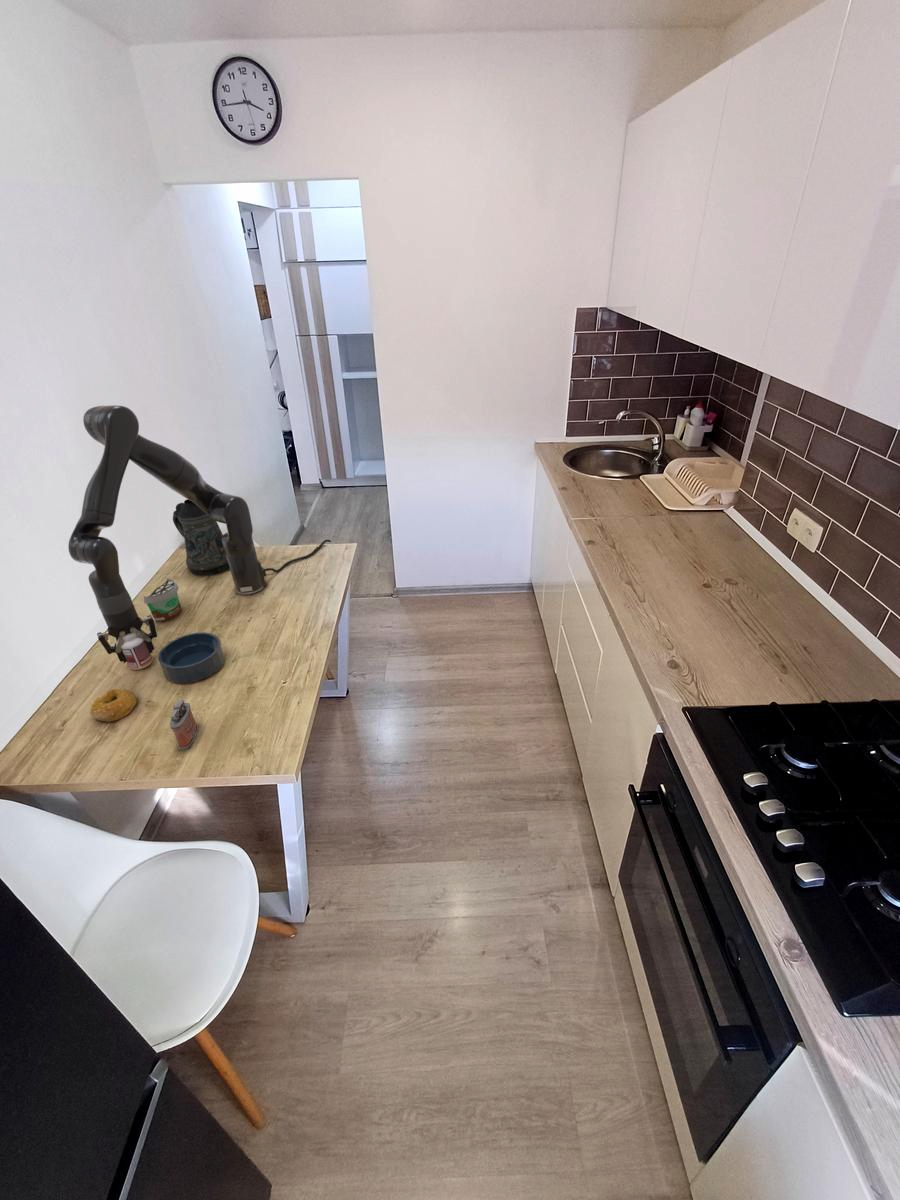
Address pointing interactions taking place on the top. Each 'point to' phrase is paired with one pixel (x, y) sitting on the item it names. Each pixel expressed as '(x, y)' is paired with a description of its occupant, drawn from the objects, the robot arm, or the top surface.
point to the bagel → (113, 705)
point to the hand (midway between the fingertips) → (138, 656)
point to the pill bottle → (136, 651)
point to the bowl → (191, 657)
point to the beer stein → (200, 540)
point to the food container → (164, 602)
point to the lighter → (183, 725)
